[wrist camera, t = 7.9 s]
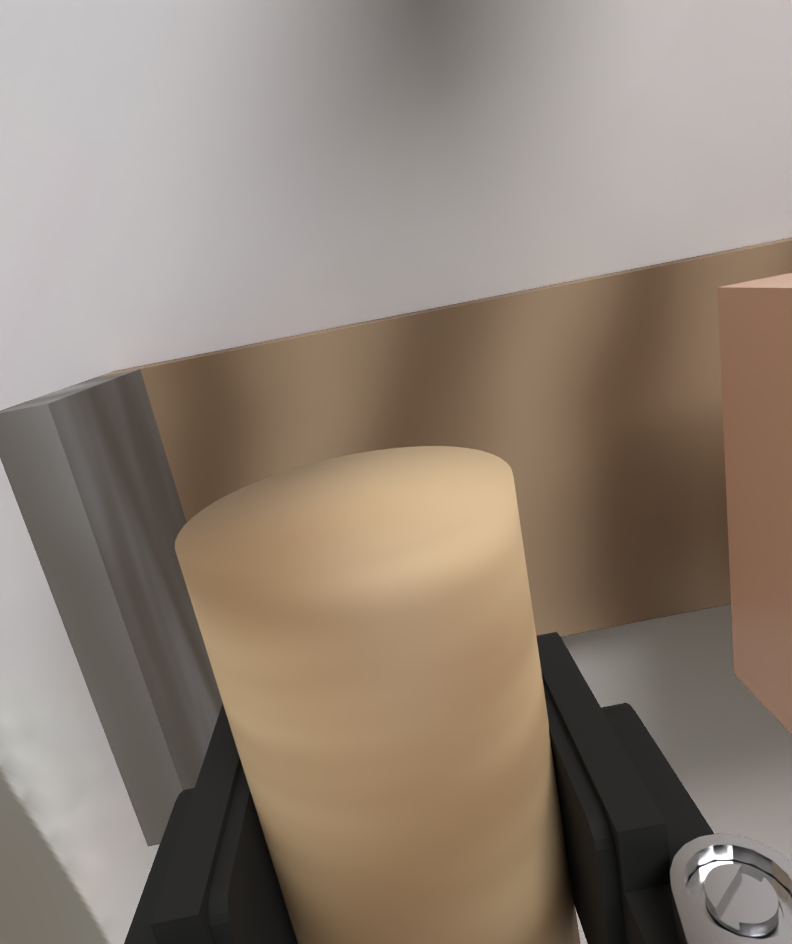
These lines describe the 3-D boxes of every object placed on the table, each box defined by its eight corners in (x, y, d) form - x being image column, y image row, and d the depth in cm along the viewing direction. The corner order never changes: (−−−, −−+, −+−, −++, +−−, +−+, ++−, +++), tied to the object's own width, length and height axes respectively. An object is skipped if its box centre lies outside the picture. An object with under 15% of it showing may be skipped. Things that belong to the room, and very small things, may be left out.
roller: (427, 431, 10) (588, 486, 6) (512, 907, 13) (659, 1133, 9) (167, 503, 9) (188, 623, 5) (324, 1012, 12) (407, 1319, 8)
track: (1106, 175, 21) (1497, 118, 14) (1066, 515, 24) (1362, 612, 17) (113, 371, 21) (-16, 416, 14) (211, 681, 24) (147, 846, 17)
